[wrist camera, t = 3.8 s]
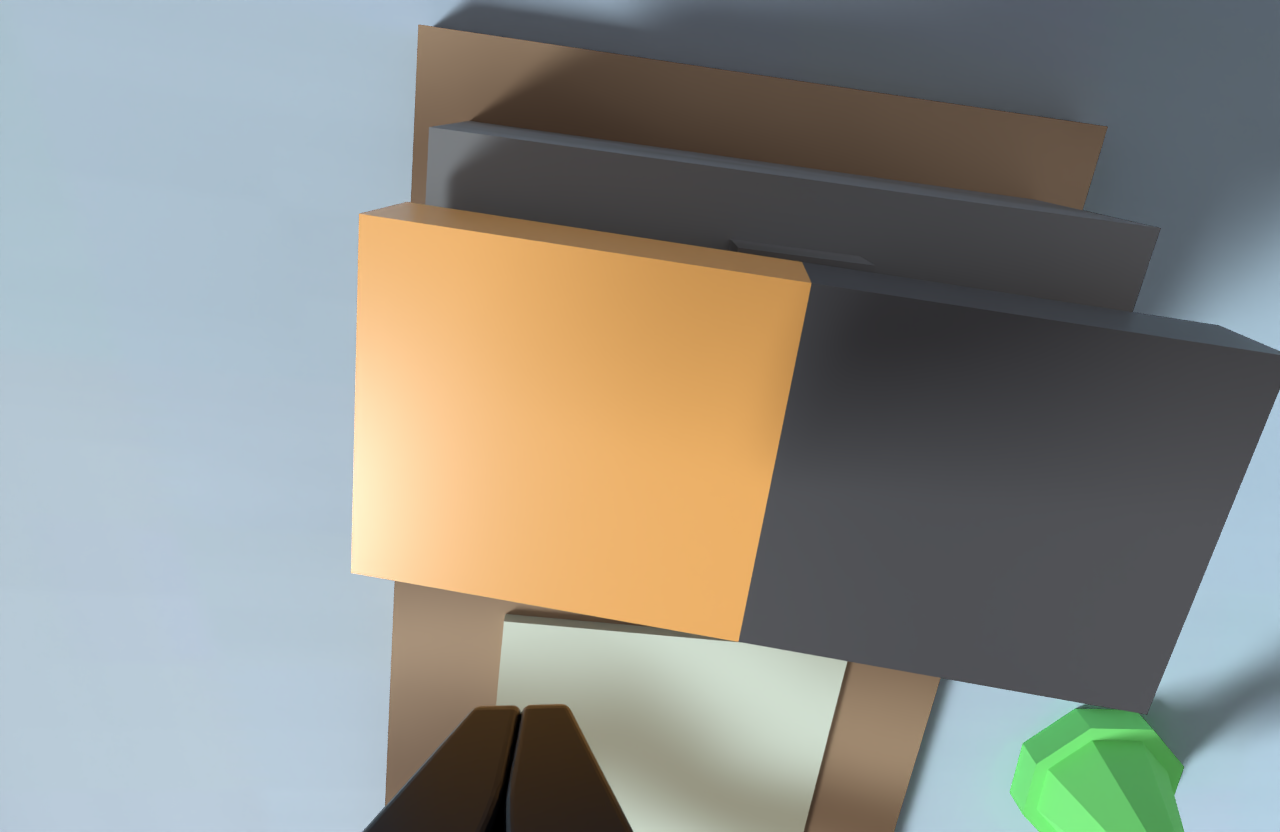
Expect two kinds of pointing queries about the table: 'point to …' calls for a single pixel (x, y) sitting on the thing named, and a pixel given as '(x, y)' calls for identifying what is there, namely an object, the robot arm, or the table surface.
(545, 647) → the switch board
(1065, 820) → the game piece
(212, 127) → the table surface
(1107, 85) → the table surface
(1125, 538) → the breaker rocker
